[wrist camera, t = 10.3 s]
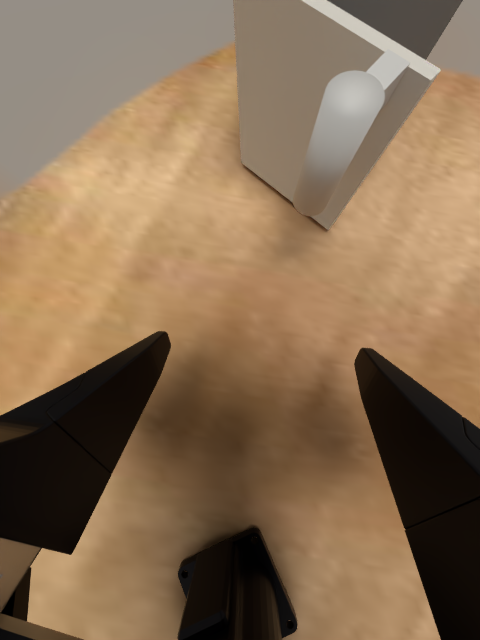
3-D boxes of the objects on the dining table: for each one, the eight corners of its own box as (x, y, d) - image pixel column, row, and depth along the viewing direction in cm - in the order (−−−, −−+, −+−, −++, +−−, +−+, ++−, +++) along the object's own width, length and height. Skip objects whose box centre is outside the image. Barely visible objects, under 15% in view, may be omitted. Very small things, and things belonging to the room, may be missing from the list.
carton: (356, 171, 18) (495, -54, 8) (246, 160, 18) (241, -61, 8) (361, 123, 18) (499, -147, 8) (254, 113, 19) (260, -147, 9)
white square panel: (297, 263, 17) (371, 139, 7) (211, 192, 18) (162, -4, 8) (332, 225, 17) (455, 49, 7) (245, 157, 18) (240, -77, 8)
